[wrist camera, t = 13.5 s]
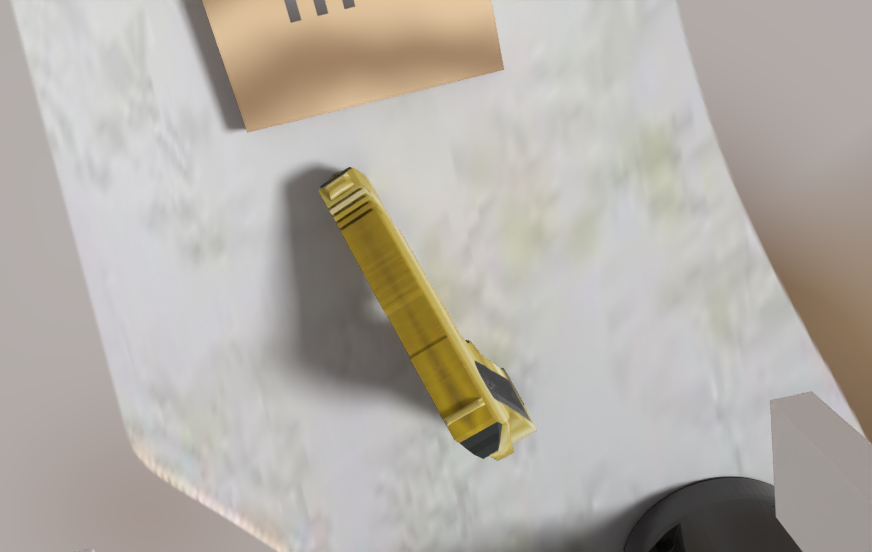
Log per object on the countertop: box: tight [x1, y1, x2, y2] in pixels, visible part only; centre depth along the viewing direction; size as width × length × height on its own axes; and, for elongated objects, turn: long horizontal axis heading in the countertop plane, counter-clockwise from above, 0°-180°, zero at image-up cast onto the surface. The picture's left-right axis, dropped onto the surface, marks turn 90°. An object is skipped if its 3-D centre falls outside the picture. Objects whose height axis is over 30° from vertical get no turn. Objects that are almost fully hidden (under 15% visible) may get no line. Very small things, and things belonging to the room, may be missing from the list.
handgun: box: [318, 167, 537, 460], centre depth 40 cm, size 2×19×12 cm
